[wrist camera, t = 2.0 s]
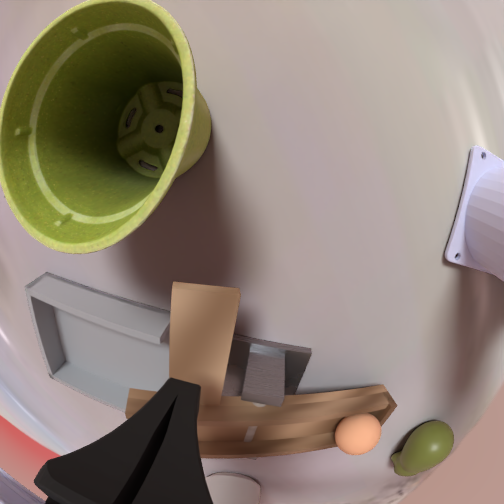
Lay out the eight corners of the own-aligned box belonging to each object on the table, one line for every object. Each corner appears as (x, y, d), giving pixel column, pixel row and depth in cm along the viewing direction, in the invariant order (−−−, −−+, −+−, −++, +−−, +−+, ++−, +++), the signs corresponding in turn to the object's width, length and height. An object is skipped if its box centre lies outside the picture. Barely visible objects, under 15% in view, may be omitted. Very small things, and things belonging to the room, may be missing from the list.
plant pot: (83, 177, 16) (-16, 205, 8) (129, 46, 13) (40, 2, 5) (204, 229, 17) (139, 299, 9) (266, 80, 14) (250, 8, 5)
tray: (175, 312, 19) (159, 337, 16) (172, 402, 23) (163, 426, 20) (46, 271, 19) (24, 286, 17) (64, 359, 23) (49, 377, 20)
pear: (468, 447, 16) (423, 479, 21) (455, 408, 20) (417, 446, 25) (424, 461, 16) (384, 488, 21) (414, 417, 21) (379, 453, 26)
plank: (427, 297, 16) (450, 317, 14) (354, 425, 20) (364, 445, 18) (120, 272, 12) (105, 301, 10) (138, 432, 17) (135, 458, 14)
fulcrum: (310, 348, 19) (316, 398, 14) (279, 421, 22) (277, 464, 18) (226, 332, 19) (212, 380, 15) (213, 408, 22) (202, 451, 18)
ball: (363, 396, 18) (397, 420, 16) (345, 422, 19) (375, 445, 17) (336, 418, 16) (374, 447, 14) (319, 444, 17) (351, 470, 15)
